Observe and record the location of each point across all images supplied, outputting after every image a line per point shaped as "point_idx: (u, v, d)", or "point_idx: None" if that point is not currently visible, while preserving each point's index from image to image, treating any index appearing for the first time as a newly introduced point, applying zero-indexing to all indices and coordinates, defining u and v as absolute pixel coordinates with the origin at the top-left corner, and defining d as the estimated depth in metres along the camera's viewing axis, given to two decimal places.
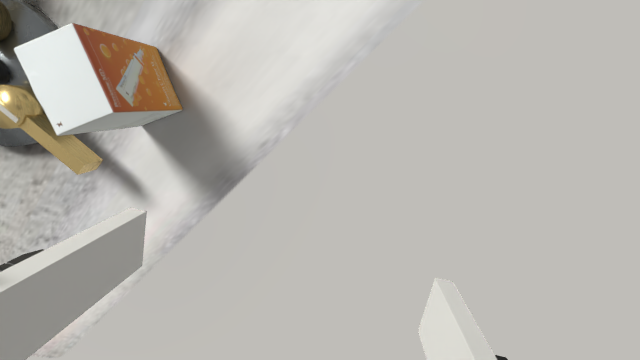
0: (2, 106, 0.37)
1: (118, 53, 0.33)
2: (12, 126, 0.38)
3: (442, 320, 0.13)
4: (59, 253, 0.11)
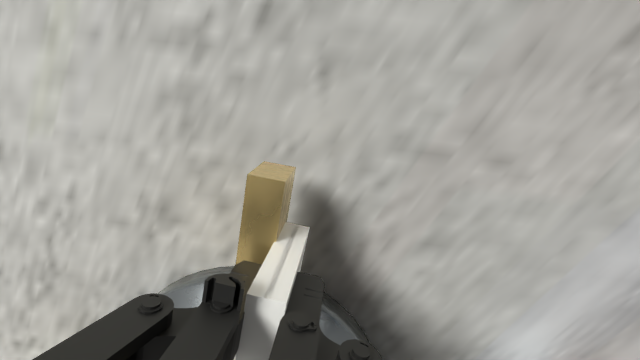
0: None
1: None
2: None
3: None
4: (276, 264, 0.13)
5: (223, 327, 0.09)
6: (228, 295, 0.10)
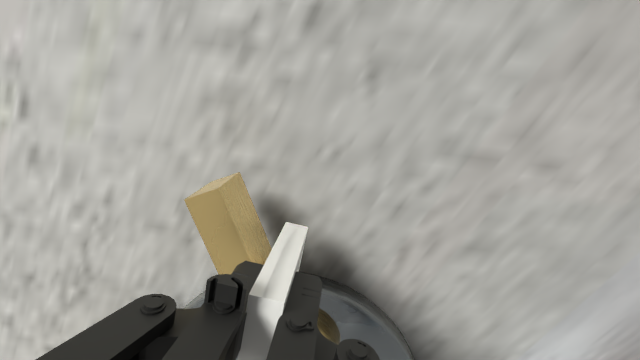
0: None
1: None
2: None
3: None
4: (277, 265, 0.13)
5: (225, 328, 0.09)
6: (230, 296, 0.10)
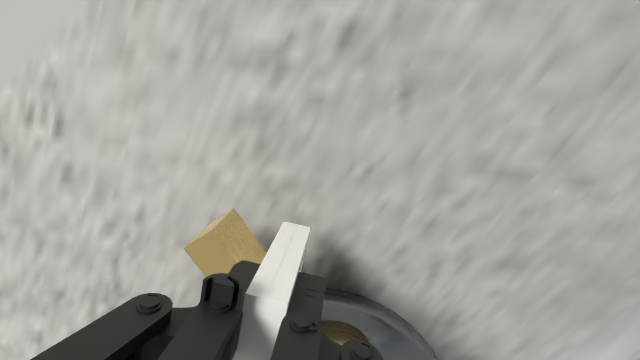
0: None
1: None
2: None
3: None
4: (274, 264, 0.13)
5: (222, 326, 0.09)
6: (226, 294, 0.10)
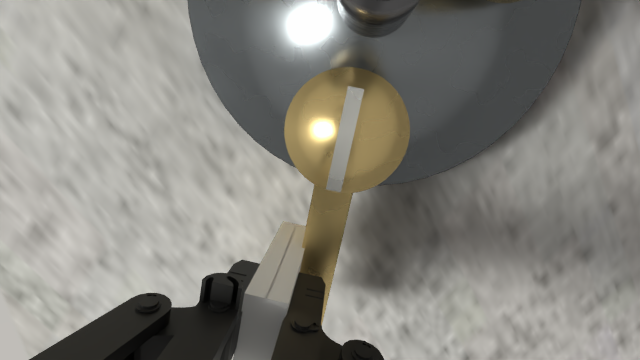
0: None
1: None
2: None
3: None
4: (274, 264, 0.13)
5: (221, 326, 0.09)
6: (226, 294, 0.10)
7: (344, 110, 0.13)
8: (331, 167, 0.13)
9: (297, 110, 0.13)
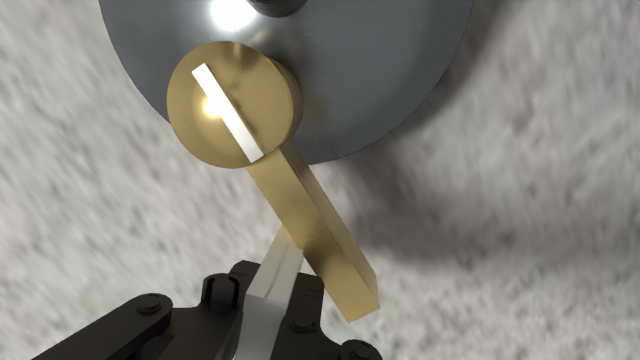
0: None
1: None
2: None
3: None
4: (275, 264, 0.13)
5: (222, 327, 0.09)
6: (227, 295, 0.10)
7: (206, 91, 0.13)
8: (239, 142, 0.13)
9: (179, 124, 0.13)
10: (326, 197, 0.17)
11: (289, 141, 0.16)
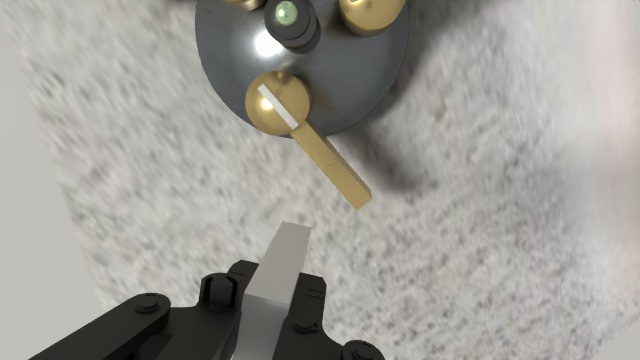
0: None
1: None
2: None
3: None
4: (273, 263, 0.13)
5: (220, 326, 0.09)
6: (225, 294, 0.10)
7: (265, 97, 0.25)
8: (285, 120, 0.26)
9: (253, 116, 0.26)
10: None
11: (308, 119, 0.28)
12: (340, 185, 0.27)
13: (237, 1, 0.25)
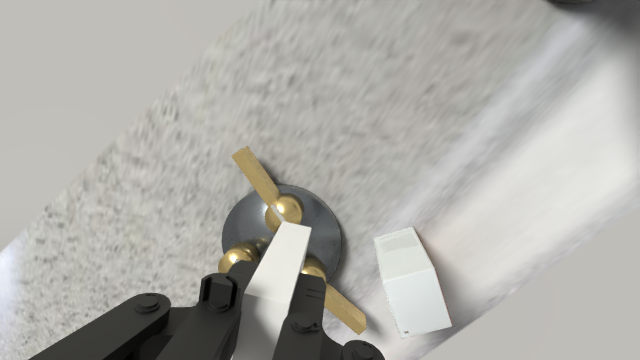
0: None
1: None
2: None
3: None
4: (273, 263, 0.13)
5: (220, 326, 0.09)
6: (225, 294, 0.10)
7: None
8: None
9: (222, 262, 0.47)
10: None
11: None
12: None
13: None
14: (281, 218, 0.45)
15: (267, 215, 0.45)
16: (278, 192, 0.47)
